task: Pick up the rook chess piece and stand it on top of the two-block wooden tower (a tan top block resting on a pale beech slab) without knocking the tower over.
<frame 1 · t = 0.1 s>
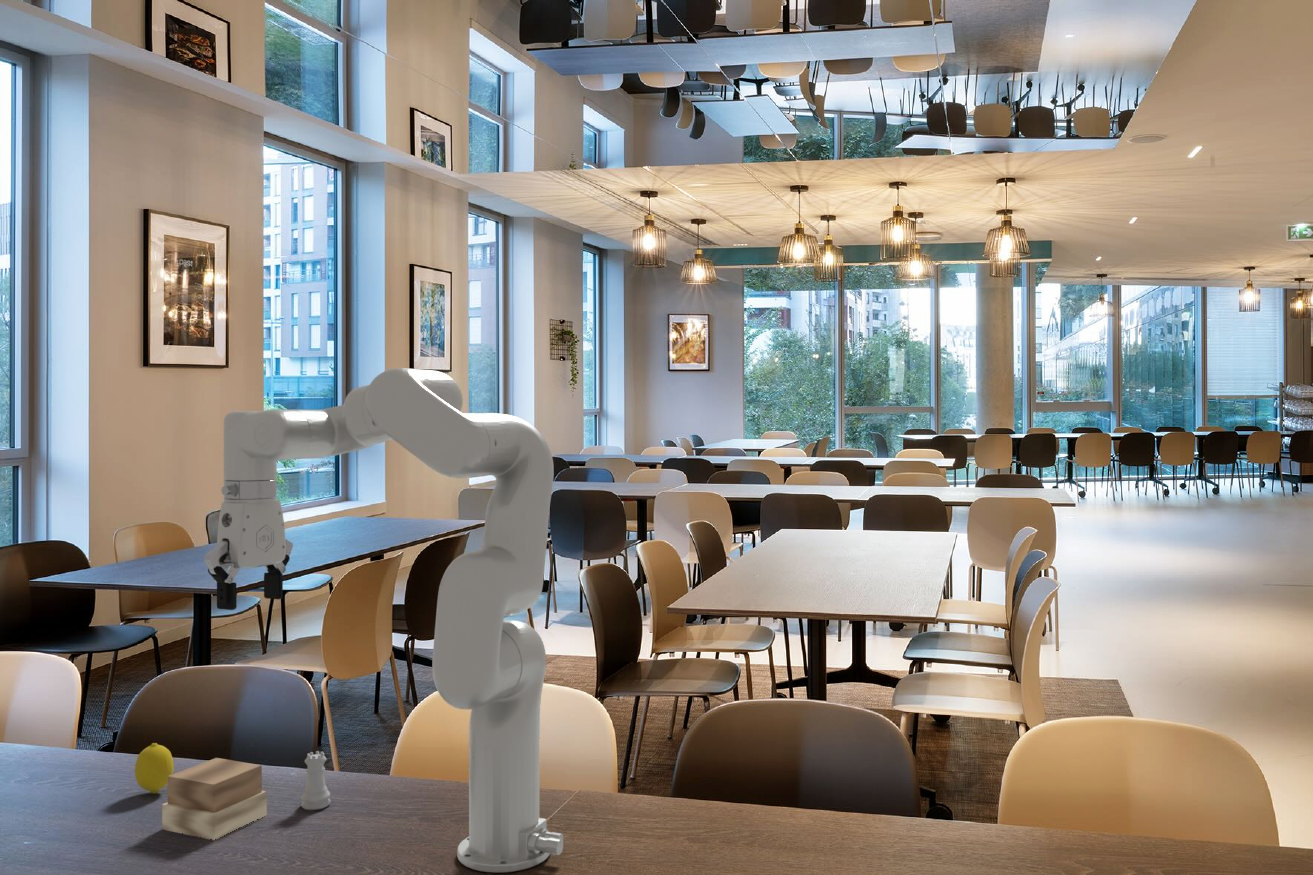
hand: (250, 603, 158), 31 cm above the table, tool pointing down, fingers open, 9 cm apart
beech base block: (215, 824, 152), on the table, touching tan top block
tan top block: (215, 797, 152), point 4 cm above the table, touching beech base block
lemon: (154, 794, 164), on the table
rook chess piece: (315, 807, 159), on the table
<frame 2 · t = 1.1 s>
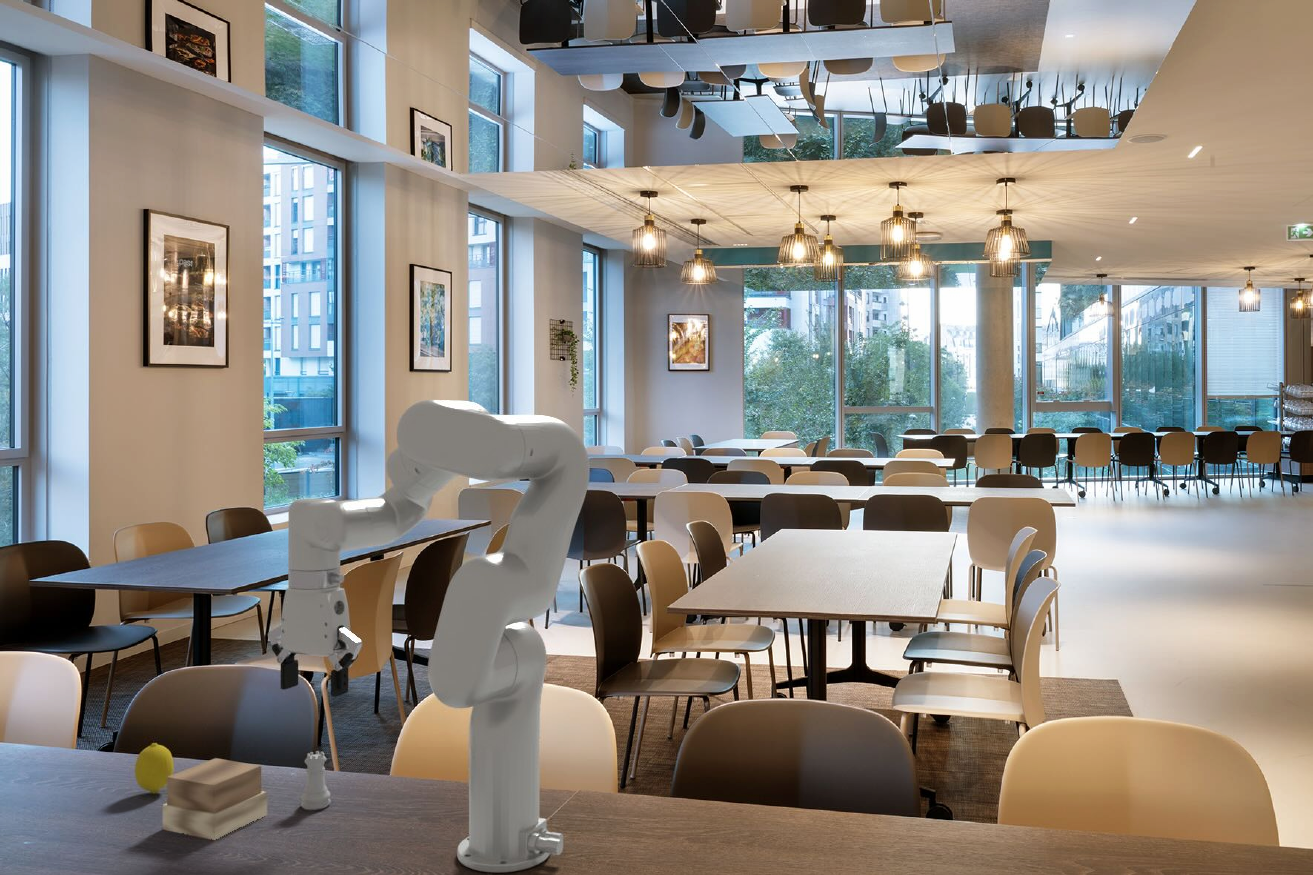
hand: (314, 690, 159), 18 cm above the table, tool pointing down, fingers open, 9 cm apart
beech base block: (215, 825, 152), on the table
tan top block: (215, 798, 152), point 4 cm above the table
everything else where it was.
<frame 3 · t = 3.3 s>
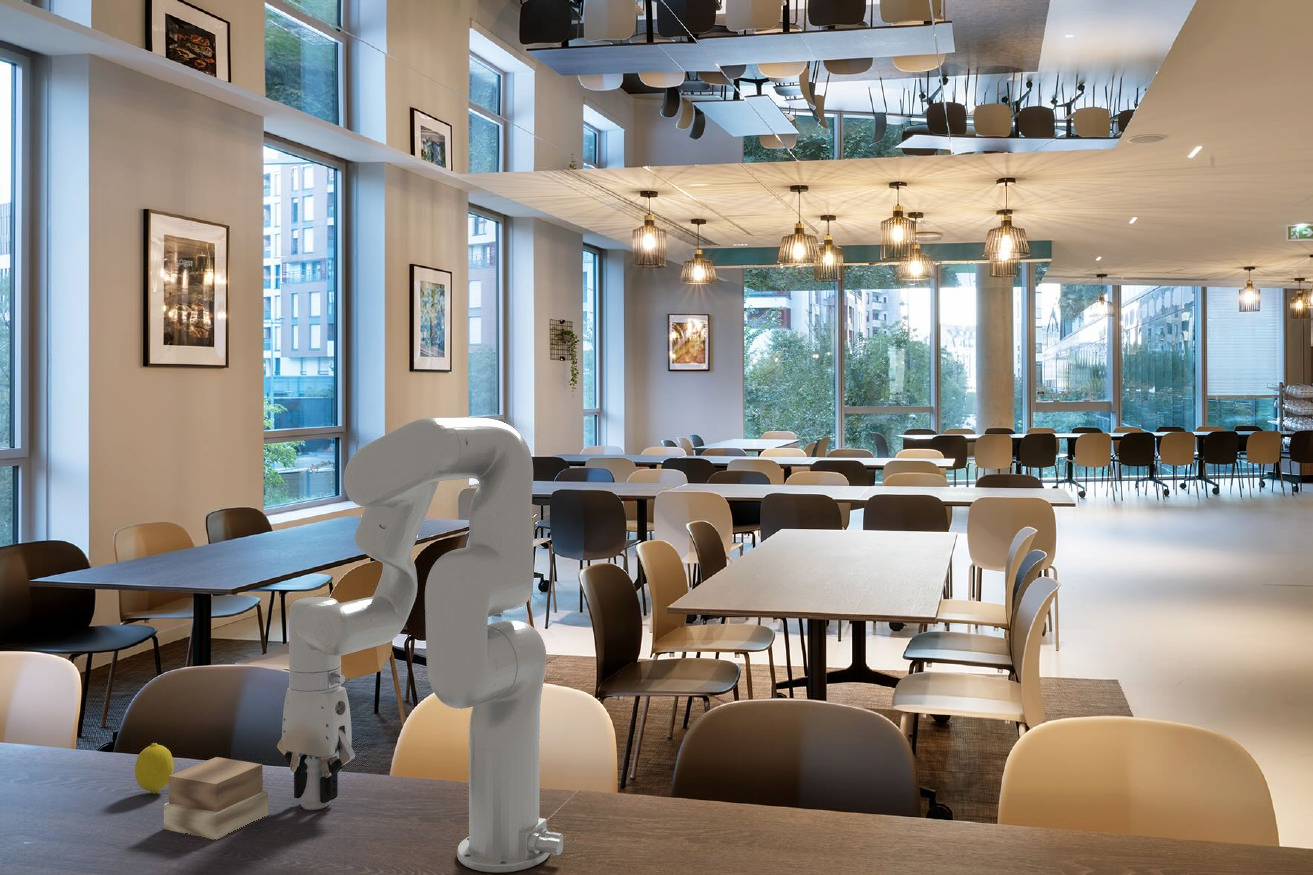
hand: (315, 796, 159), 1 cm above the table, tool pointing down, fingers closed on rook chess piece, 4 cm apart
beech base block: (216, 824, 152), on the table, touching tan top block
tan top block: (216, 796, 153), point 4 cm above the table, touching beech base block
rook chess piece: (315, 806, 159), on the table, touching gripper
everything else where it was.
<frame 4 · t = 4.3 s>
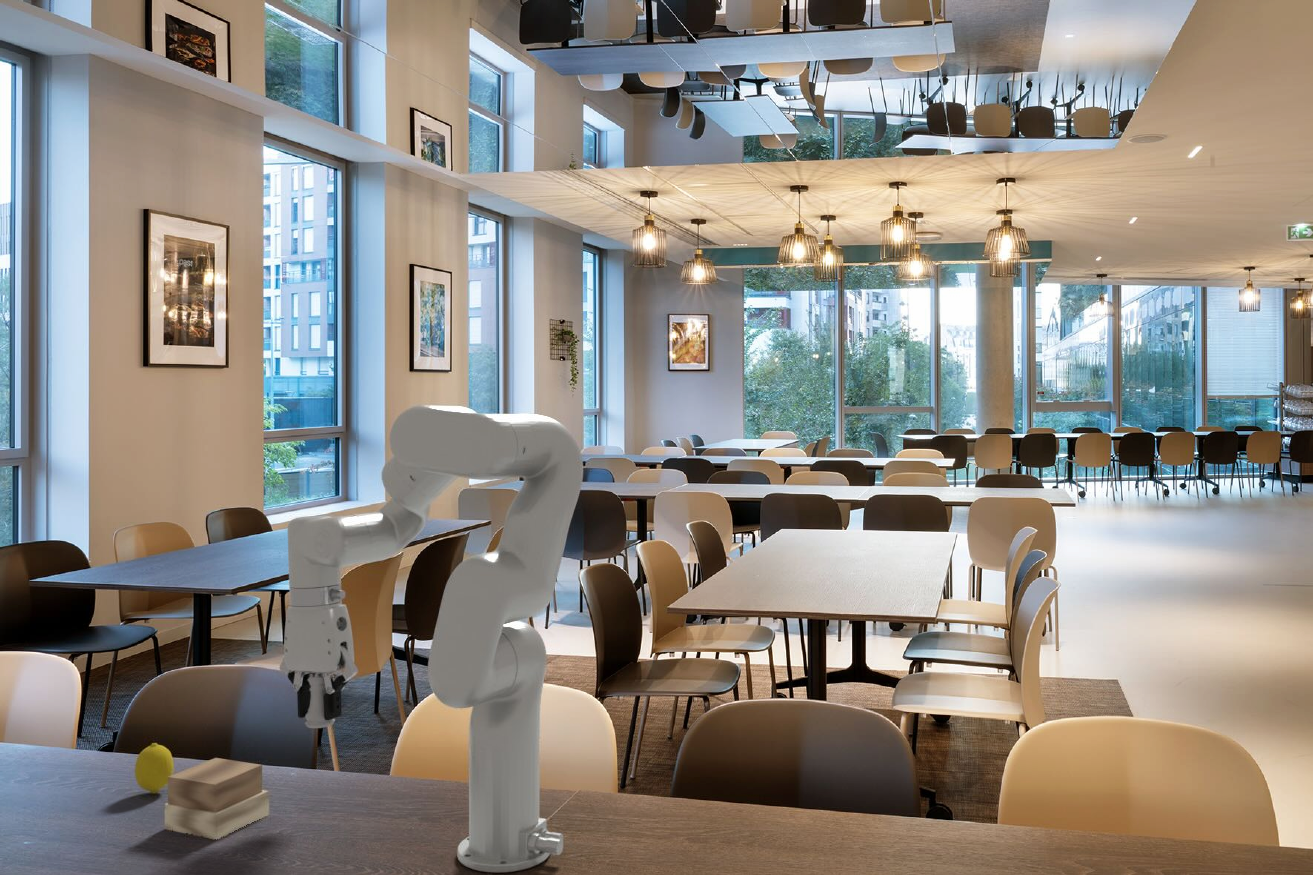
hand: (319, 715, 158), 14 cm above the table, tool pointing down, fingers closed on rook chess piece, 4 cm apart
rook chess piece: (320, 726, 158), point 12 cm above the table, touching gripper
everything else where it was.
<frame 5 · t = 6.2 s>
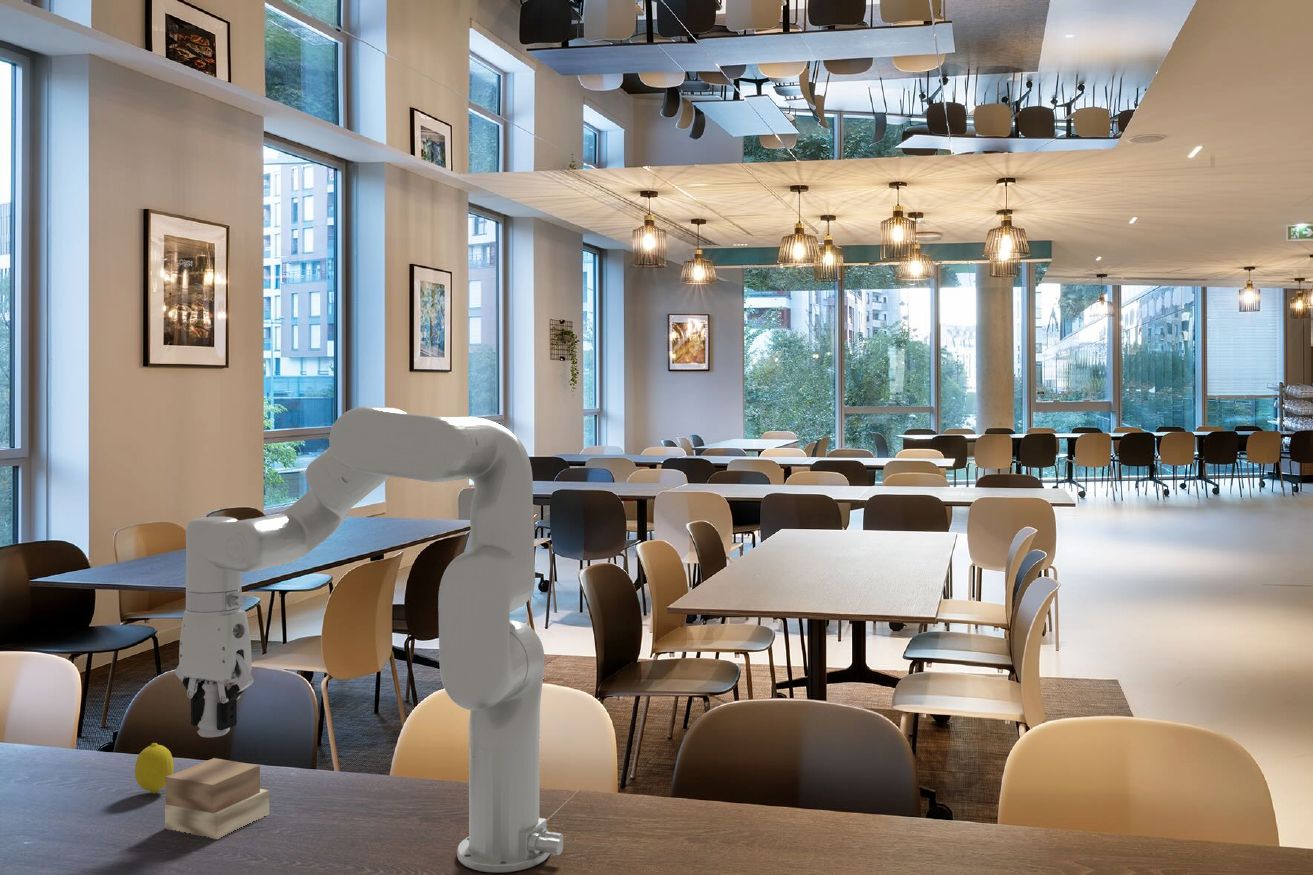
hand: (213, 724, 152), 14 cm above the table, tool pointing down, fingers closed on rook chess piece, 4 cm apart
rook chess piece: (213, 734, 152), point 13 cm above the table, touching gripper
everything else where it was.
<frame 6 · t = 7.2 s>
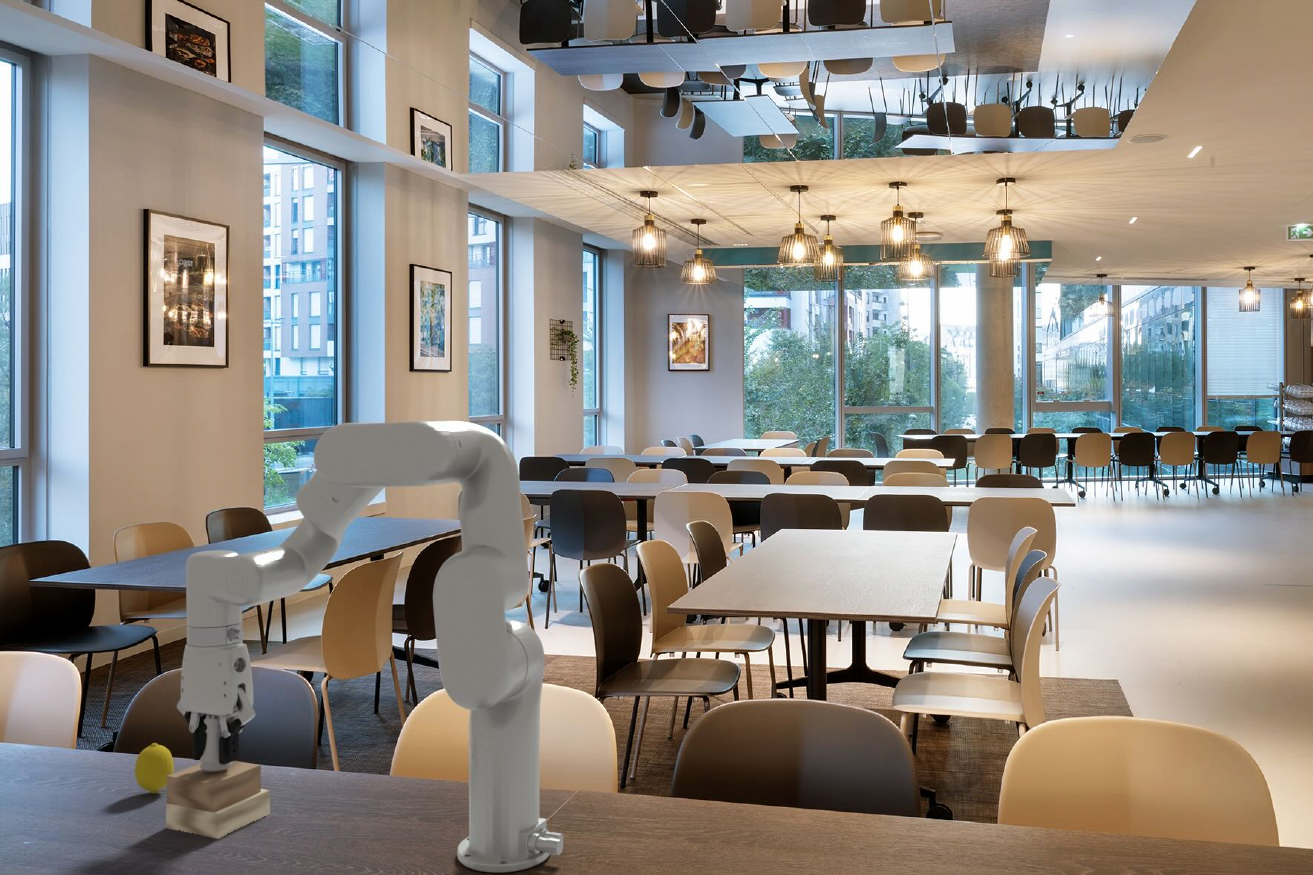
hand: (216, 758, 152), 9 cm above the table, tool pointing down, fingers closed on rook chess piece, 4 cm apart
rook chess piece: (216, 768, 152), point 8 cm above the table, touching gripper
everything else where it was.
when the fingers open (9 cm above the table, at t = 8.1 s): rook chess piece stays where it is, resting on tan top block.
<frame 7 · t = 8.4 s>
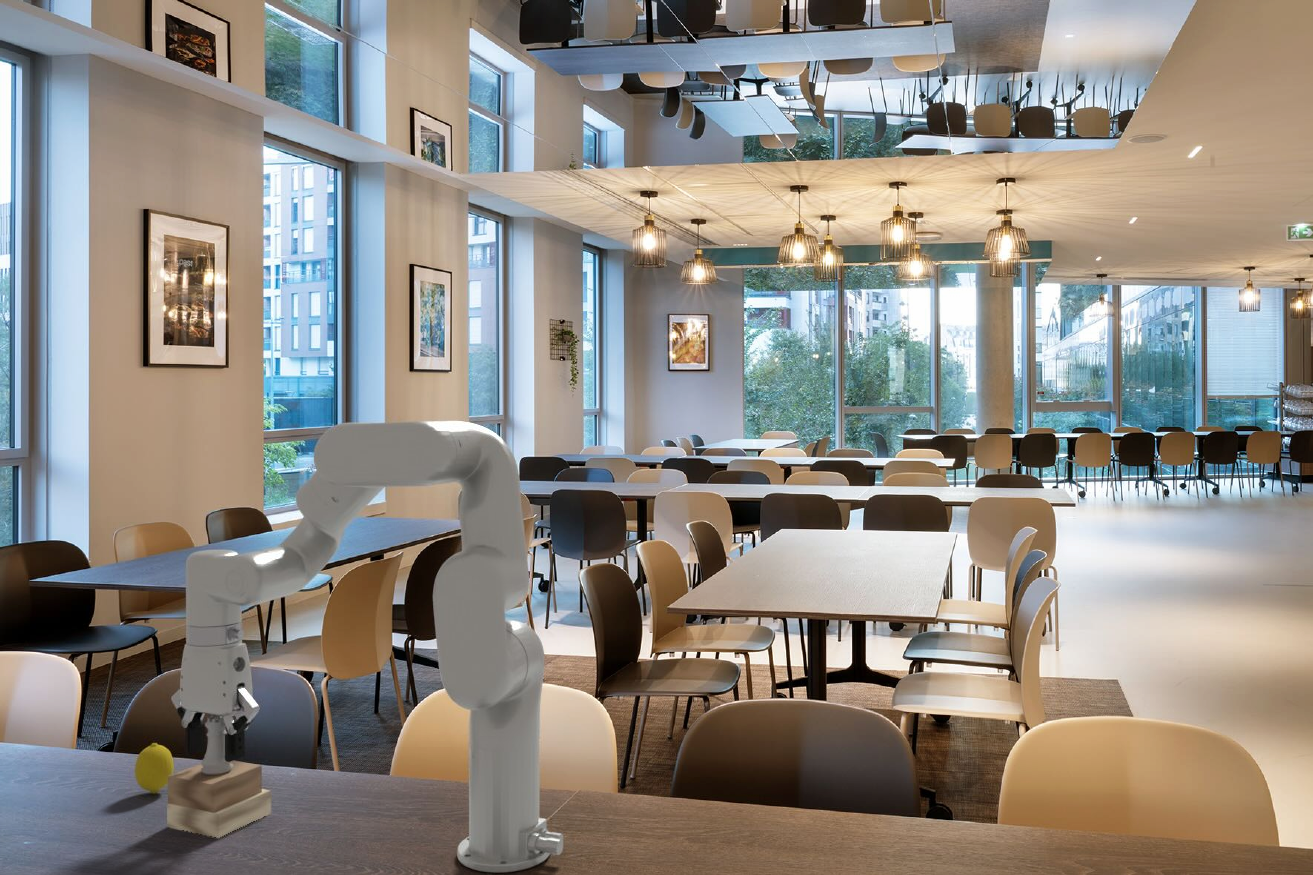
hand: (215, 754, 152), 10 cm above the table, tool pointing down, fingers open, 7 cm apart
tan top block: (215, 797, 153), point 3 cm above the table, touching beech base block, rook chess piece
rook chess piece: (217, 772, 152), point 7 cm above the table, touching tan top block
everything else where it was.
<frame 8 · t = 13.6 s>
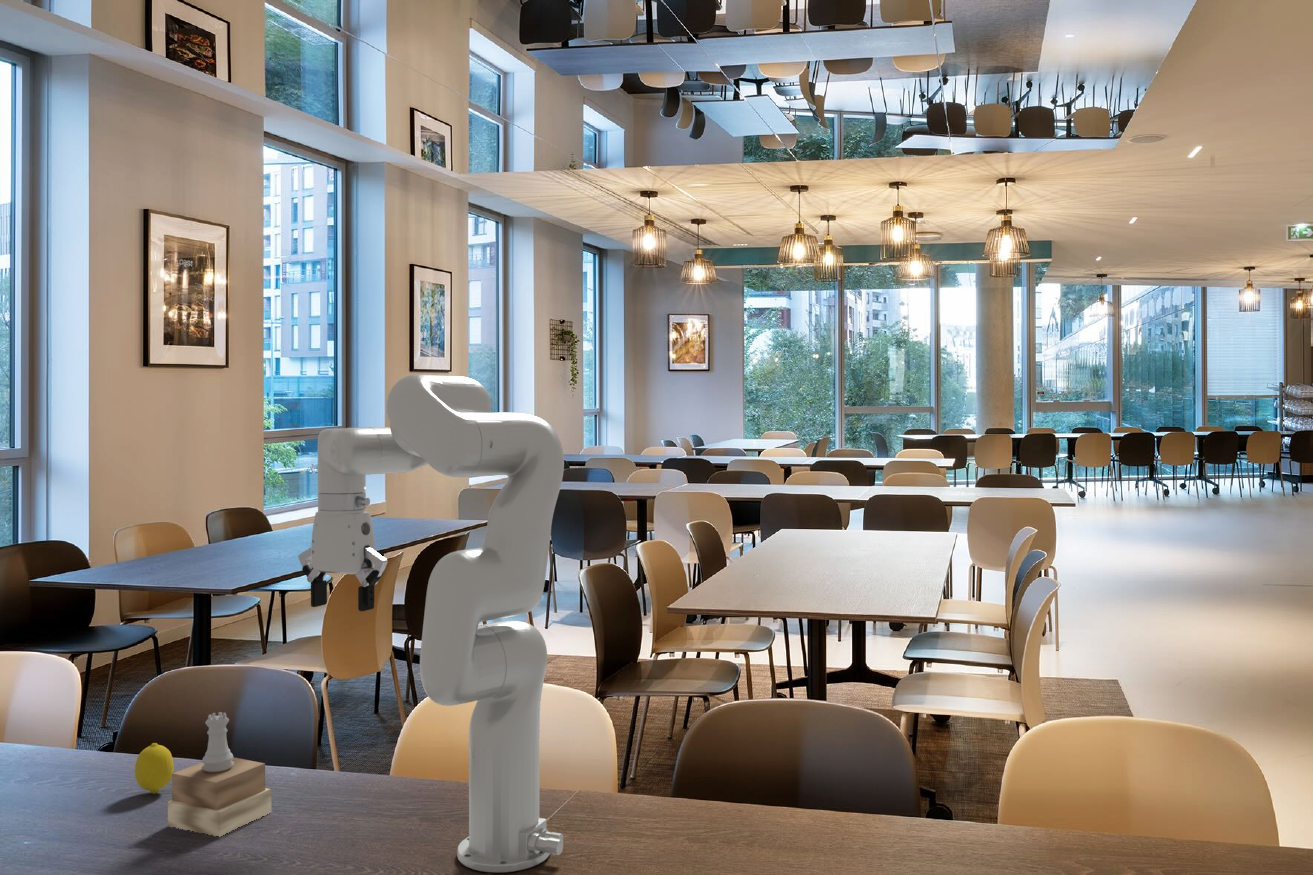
hand: (342, 607, 170), 28 cm above the table, tool pointing down, fingers open, 9 cm apart
at the end: rook chess piece inside the target area on the tan top block (0.1 cm from its centre), point 3.9 cm above the tan top block's base; rook chess piece tilted 4°; tan top block tilted 0° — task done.
